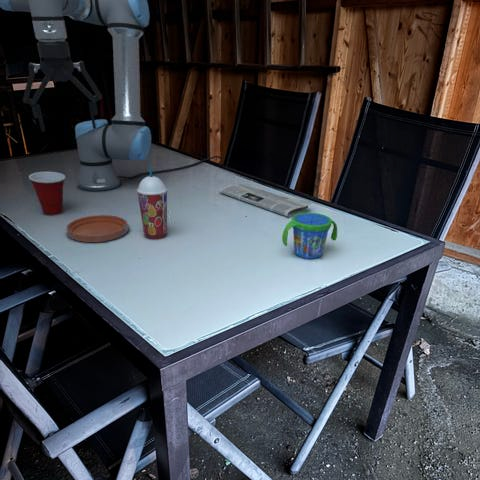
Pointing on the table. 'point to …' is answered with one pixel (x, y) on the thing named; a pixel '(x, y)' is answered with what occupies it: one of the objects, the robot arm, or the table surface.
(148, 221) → the smoothie
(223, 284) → the table surface
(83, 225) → the plate
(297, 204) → the newspaper
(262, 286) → the table surface
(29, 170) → the table surface
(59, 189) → the plastic cup
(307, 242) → the snack cup
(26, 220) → the table surface
